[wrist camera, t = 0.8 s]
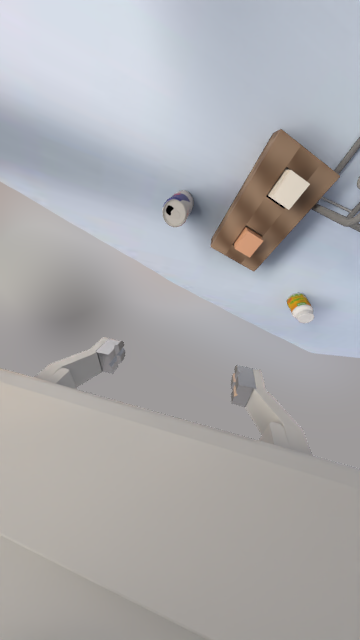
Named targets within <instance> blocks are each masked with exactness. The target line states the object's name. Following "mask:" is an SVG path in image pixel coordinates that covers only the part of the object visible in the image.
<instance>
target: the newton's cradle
mask: <svg viewBox="0 0 360 640" xmlns="http://www.w3.org/2000/svg"><path fill="white" fill-rule="evenodd" d="M359 147H360V137H359V139H358V140H357V141H356V143H355V144H354V145H353V147H352V148H351V149H350V151H349V152H348V153H347V155H346V156H345V157H344V159H343V160H342V161H341V163H340V164H339V165H338V167H337V168H336V169H335V172H336V173H337V174H339V173H340V172H341V171H342V169H343V168H344V167H345V165H346V164H347V163H348V162H349V160H350V159H351V158H352V156H353V155H354V154H355V153H356V151H357V150H358V149H359ZM357 187H358V188H359V189H360V177H359V179H358V181H357ZM320 199H323V200H325V201H327V202H329V203H331V204H333V205H335V206H337V207H339V208H341V209H344V210H346V211H348V212H350V213H349V215H348V216H347V217H345V216H343V215H341V214H338V213H336V212H334V211H332V210H329V209H327V208H325V207H323V206H321V205H318V204H317V203H318V202H317V203H316V204H315V205H314V206H313V207H312V210H314V211H316V212H318V213H320V214H322V215H324V216H326V217H328V218H329V219H331V220H333V221H335V222H337V223H339V224H341V225H343V226H347V227H348V226H349V227H351V228H353V229H355V230H357V231H359V232H360V224H359V222H360V213H359V214H358V215H356V216H355V217H354V215H355V214H356V213H357V212H358V211H359V210H360V202H359V203H358V205H357V206H356V207H355V208H354V209H353V210H352V211H351V210H349V209H347V208H345V207H343V206H341V205H339V204H337V203H335V202H333V201H331V200H328V199H326V198H324V197H321V198H320ZM318 201H319V200H318Z"/></svg>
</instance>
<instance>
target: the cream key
mask: <svg viewBox="0 0 360 640" xmlns="http://www.w3.org/2000/svg"><path fill="white" fill-rule="evenodd" d="M309 185H310V184H309V183H308V182H307V181H305V180H304V179H303V178H301V177H300V176H299V175H297V174H296V173H295V172H293V171H292V170H287V169H285V170H284V171H283V173H282V174H281V176H280V177H279V179H278V180H277V181H276V183H275V184H274V186H273V187H272V189H271V190H270V192H269V193H268V194H267V195H268V196H269V197H271V198H272V199H274V200H275V201H277V202H278V203H279V204H281V205H282V206H284V207H285V208H287V209H288V210H289V209H290V208H291V207H292V206H293V204H294V203H295V202H296V201H297V200H298V198H299V197H300V196H301V195H302V193H303V192H304V191H305V190H306V189H307V187H308V186H309Z"/></svg>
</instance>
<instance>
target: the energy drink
mask: <svg viewBox="0 0 360 640" xmlns="http://www.w3.org/2000/svg"><path fill="white" fill-rule="evenodd" d="M192 208H193V198H192V196H191V194H190V193H189V192H187V191H185V190H181V191H179V192H177V193H176V194H175V195H173V196H172V197H171V198H169V199H168V200H167V201H166V202H165V204H164V206H163V218H164V220H165V222H166V223H167V224H168V225H169V226H172V227H179V226H181V225H183V224H184V223H185V221H186V219H187V218H188V216H189V214H190V212H191V211H192Z"/></svg>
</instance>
